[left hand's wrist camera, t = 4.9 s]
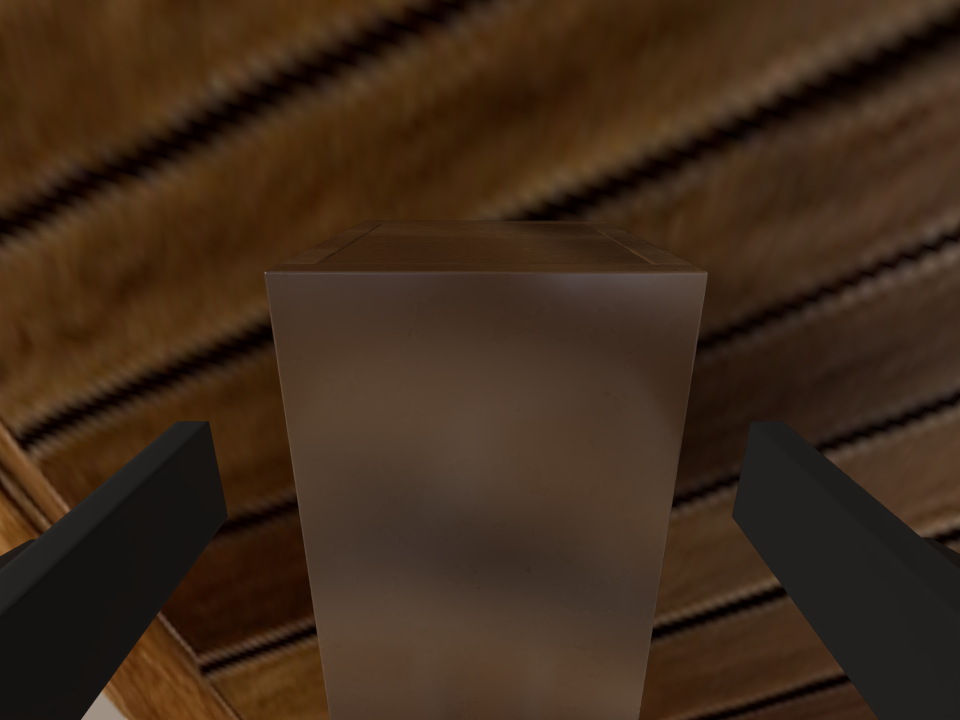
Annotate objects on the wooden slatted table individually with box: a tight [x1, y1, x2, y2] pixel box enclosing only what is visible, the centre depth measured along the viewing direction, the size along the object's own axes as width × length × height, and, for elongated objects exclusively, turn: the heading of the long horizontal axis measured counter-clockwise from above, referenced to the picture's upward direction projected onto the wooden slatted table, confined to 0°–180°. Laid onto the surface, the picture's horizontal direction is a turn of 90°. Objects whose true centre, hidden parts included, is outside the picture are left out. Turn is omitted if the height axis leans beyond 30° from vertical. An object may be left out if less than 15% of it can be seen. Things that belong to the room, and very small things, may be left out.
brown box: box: [264, 221, 708, 720], centre depth 20 cm, size 18×10×11 cm, turn 0°
